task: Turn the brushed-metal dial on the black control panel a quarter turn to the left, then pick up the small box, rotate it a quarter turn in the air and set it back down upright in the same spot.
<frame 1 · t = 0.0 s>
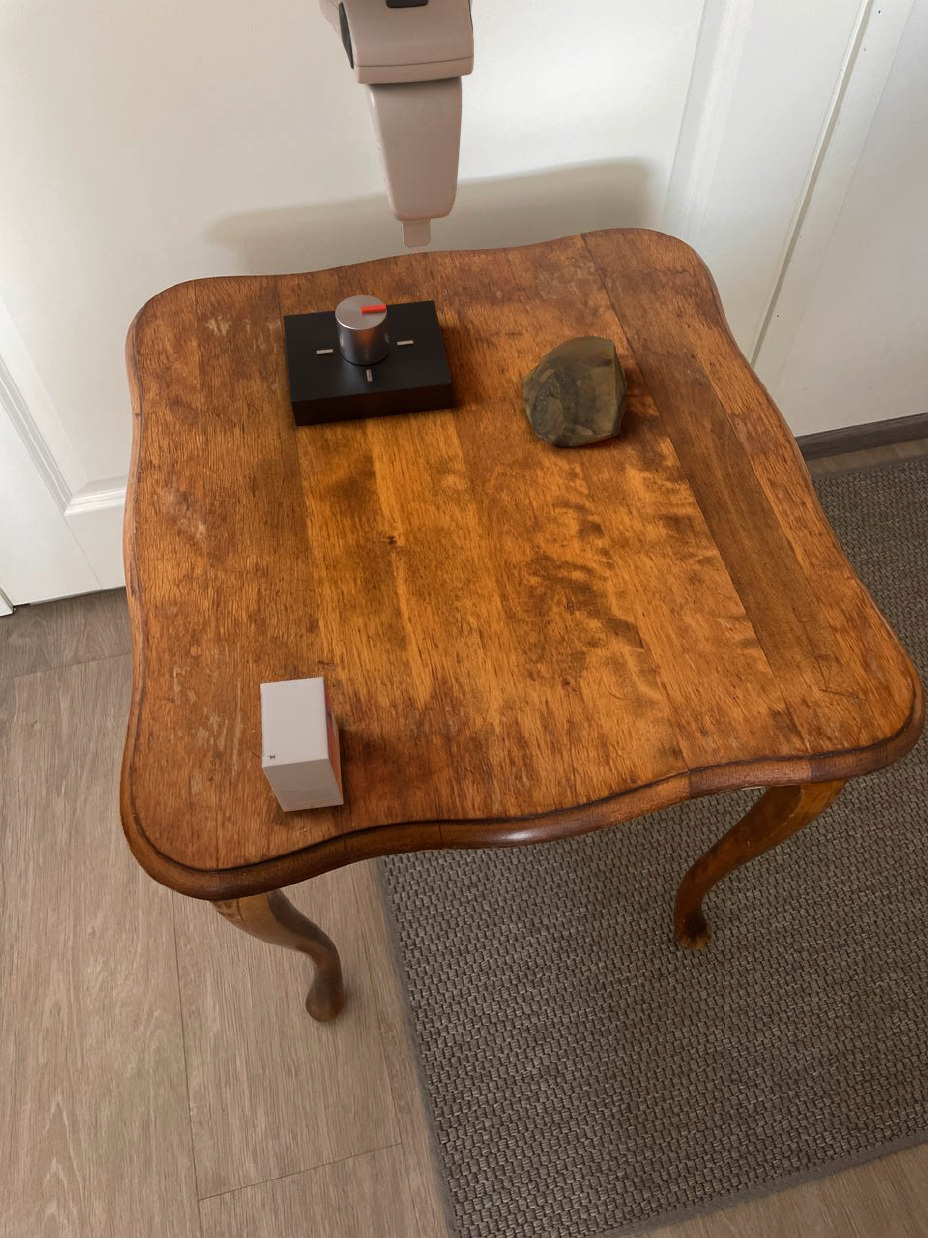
hand: (406, 197, 63), 21 cm above the table, tool pointing down, fingers open, 8 cm apart
dial: (363, 328, 79), point 5 cm above the table, hinge at 0.0°
small box: (312, 769, 63), on the table
panel: (368, 373, 83), on the table
decorative stone: (575, 407, 82), on the table
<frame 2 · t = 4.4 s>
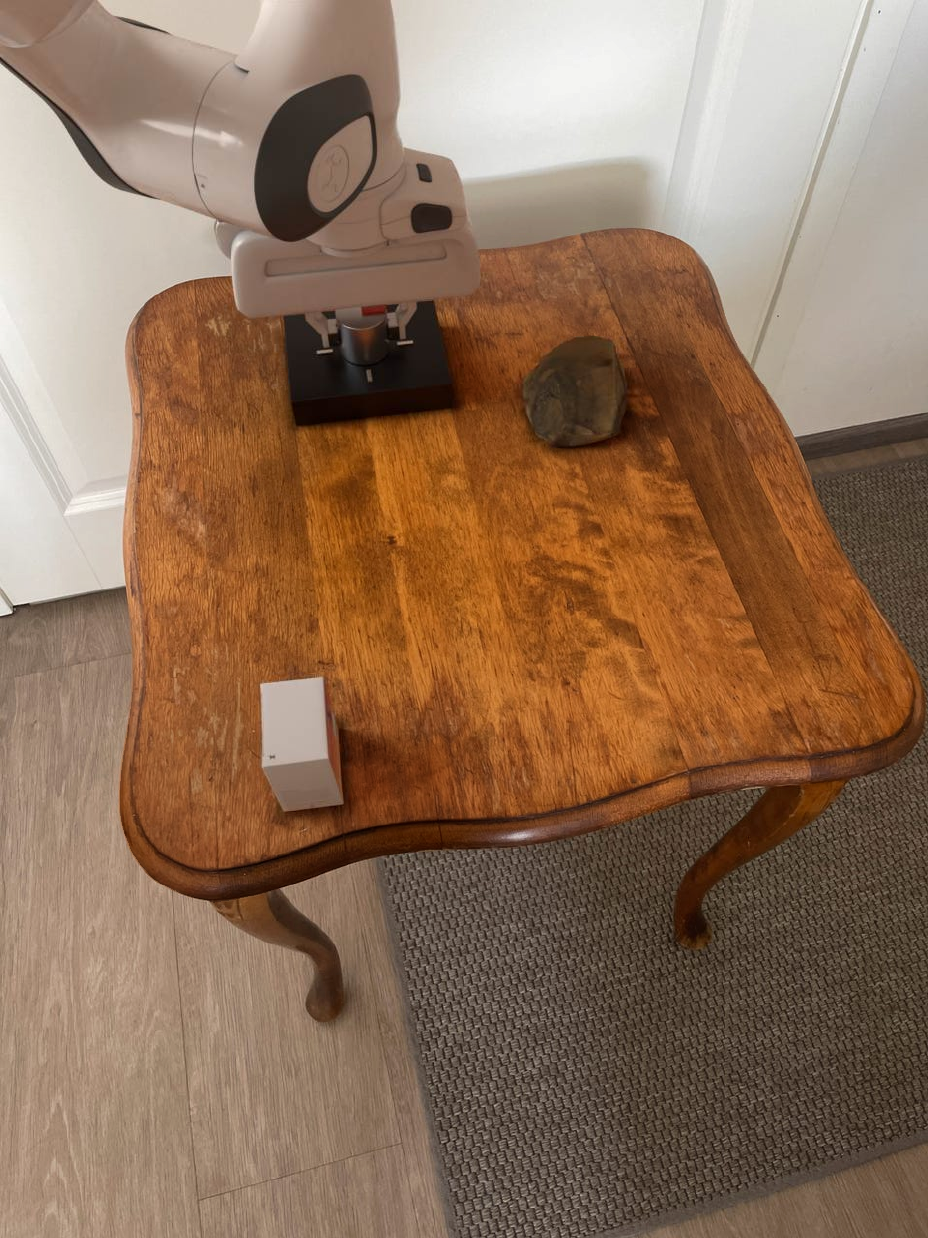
hand: (364, 338, 80), 4 cm above the table, tool pointing down, fingers closed on dial, 4 cm apart
dial: (363, 328, 79), point 5 cm above the table, hinge at 0.1°, touching gripper
everything else where it was.
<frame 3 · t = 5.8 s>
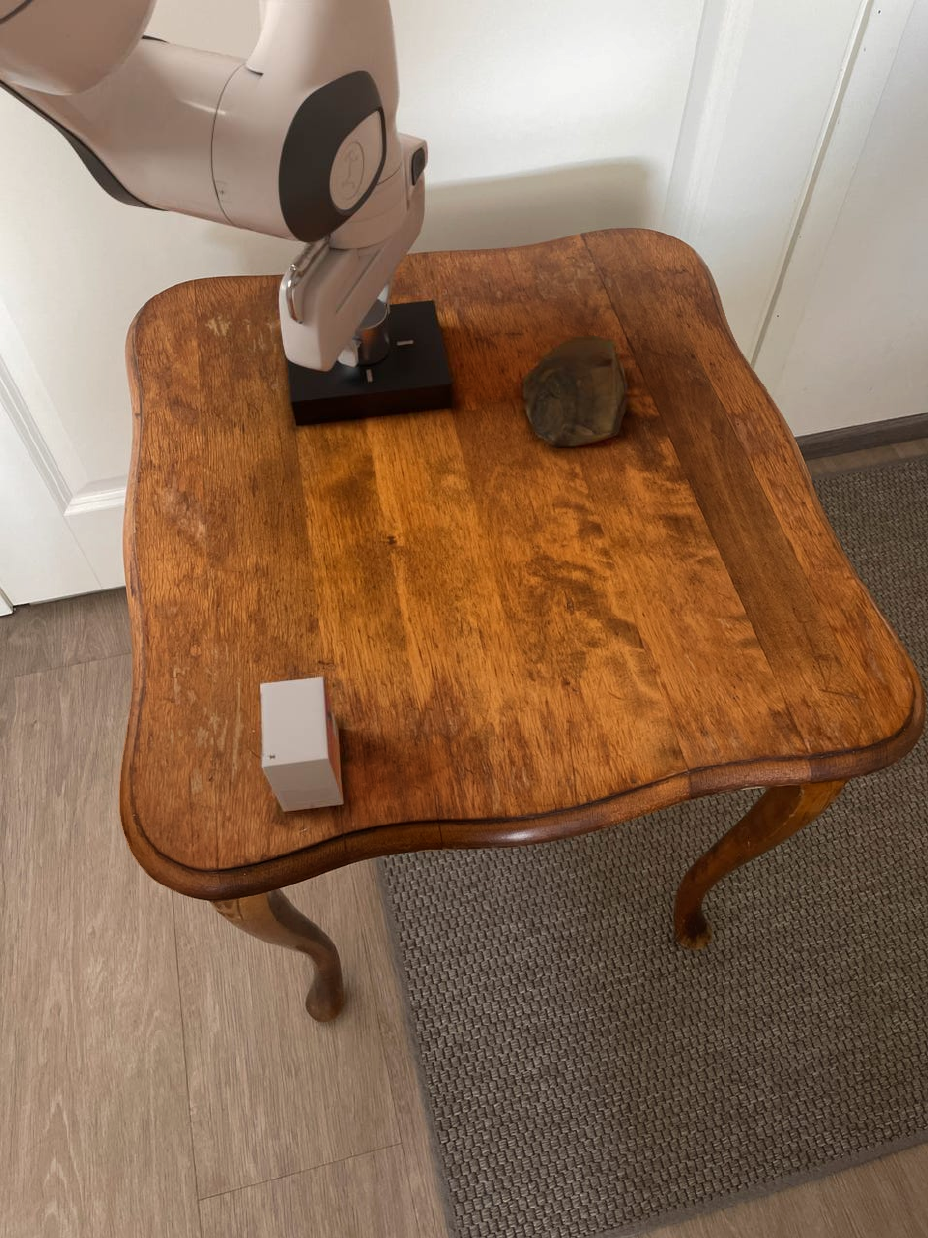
hand: (364, 338, 80), 4 cm above the table, tool pointing down, fingers closed on dial, 4 cm apart
dial: (363, 328, 79), point 5 cm above the table, hinge at 60.4°, touching gripper
everything else where it was.
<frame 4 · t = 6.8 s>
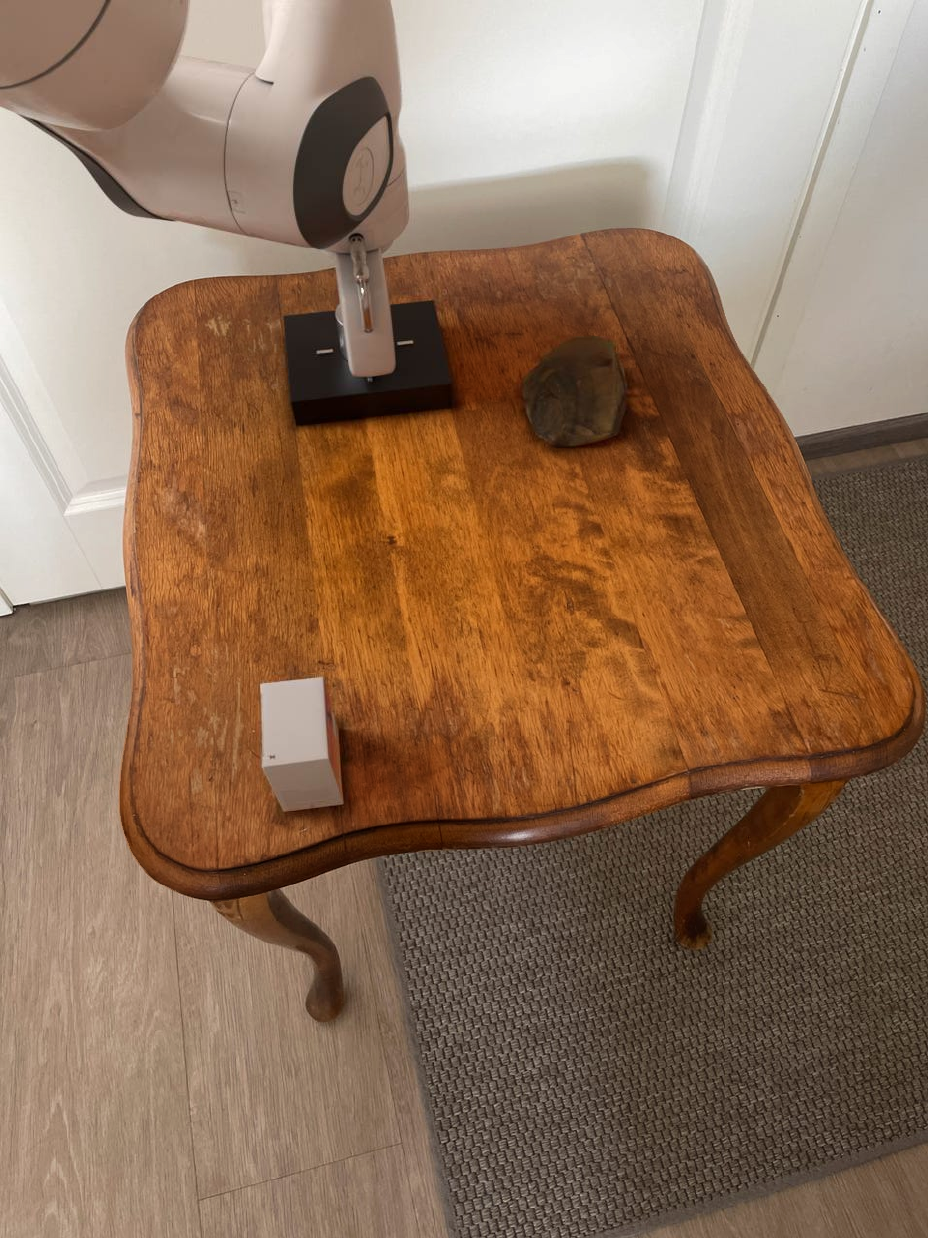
hand: (367, 341, 80), 4 cm above the table, tool pointing down, fingers closed on dial, 4 cm apart
dial: (363, 328, 79), point 5 cm above the table, hinge at 93.6°, touching gripper
everything else where it was.
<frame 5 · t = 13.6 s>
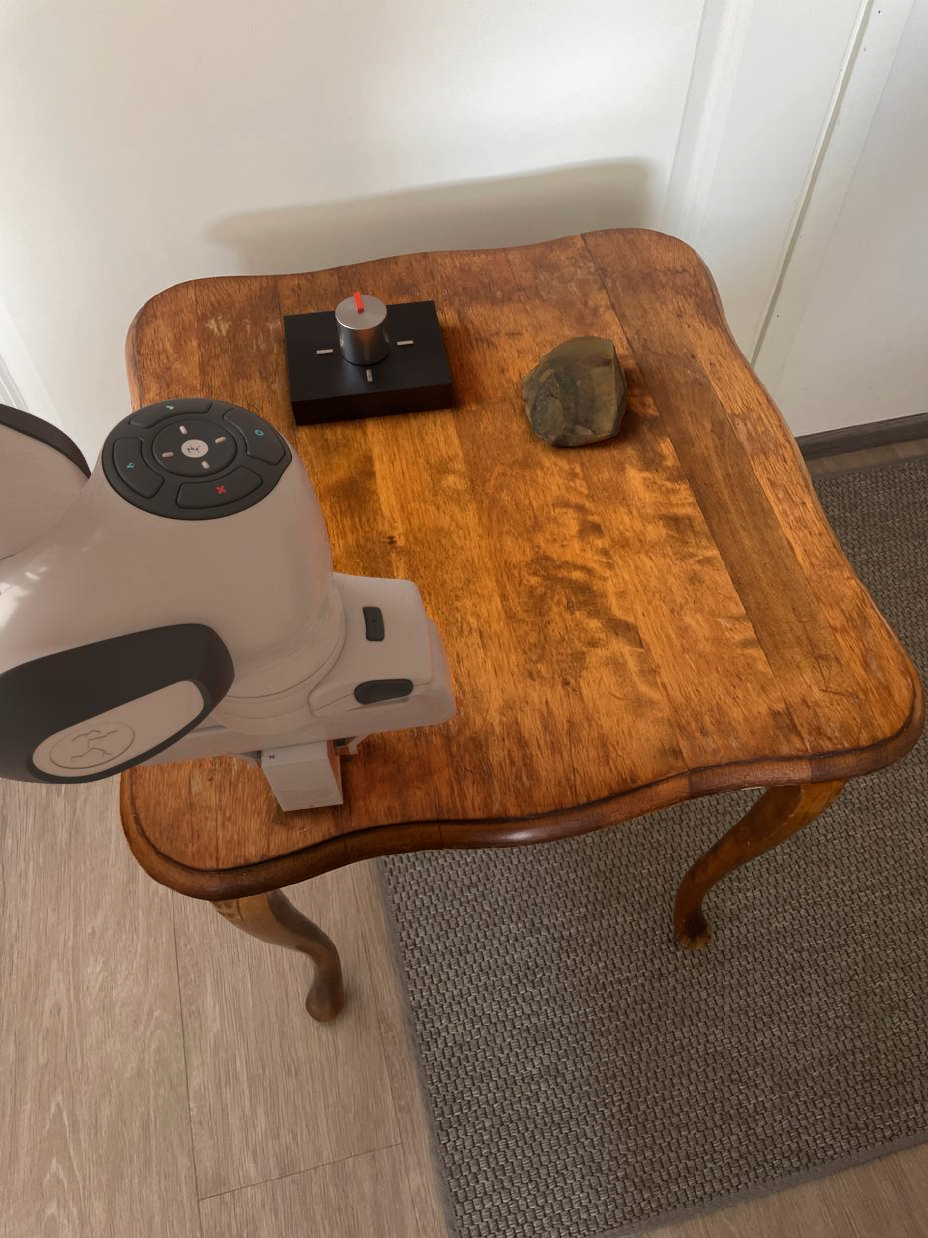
hand: (305, 751, 60), 3 cm above the table, tool pointing down, fingers closed on small box, 4 cm apart
dial: (363, 328, 79), point 5 cm above the table, hinge at 93.4°
small box: (311, 769, 63), on the table, touching gripper
everything else where it was.
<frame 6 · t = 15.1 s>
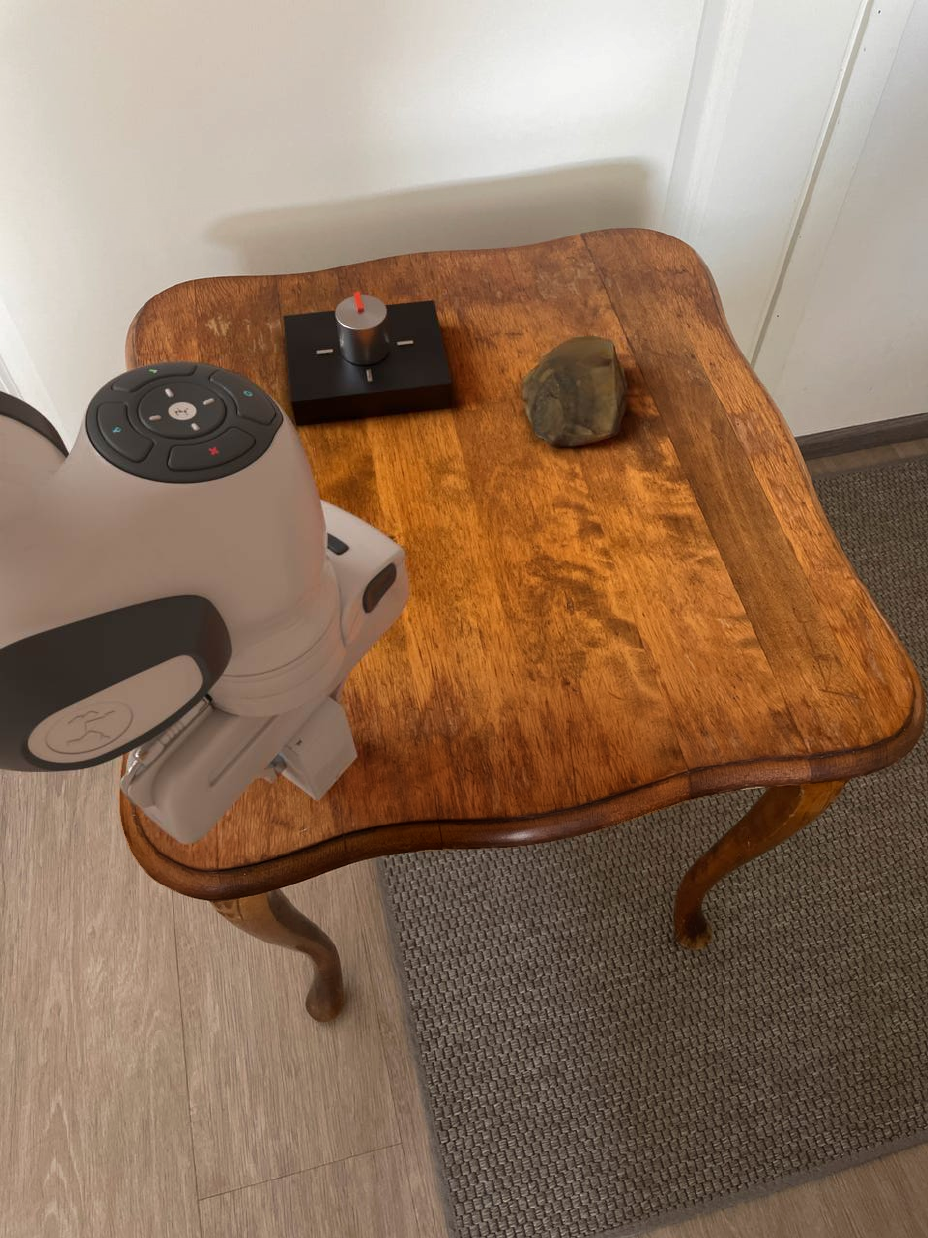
hand: (299, 736, 59), 5 cm above the table, tool pointing down, fingers closed on small box, 4 cm apart
small box: (305, 756, 62), point 2 cm above the table, touching gripper
everything else where it was.
when the fingers open (3 cm above the table, at t = 17.0 s): small box stays where it is, on the table.
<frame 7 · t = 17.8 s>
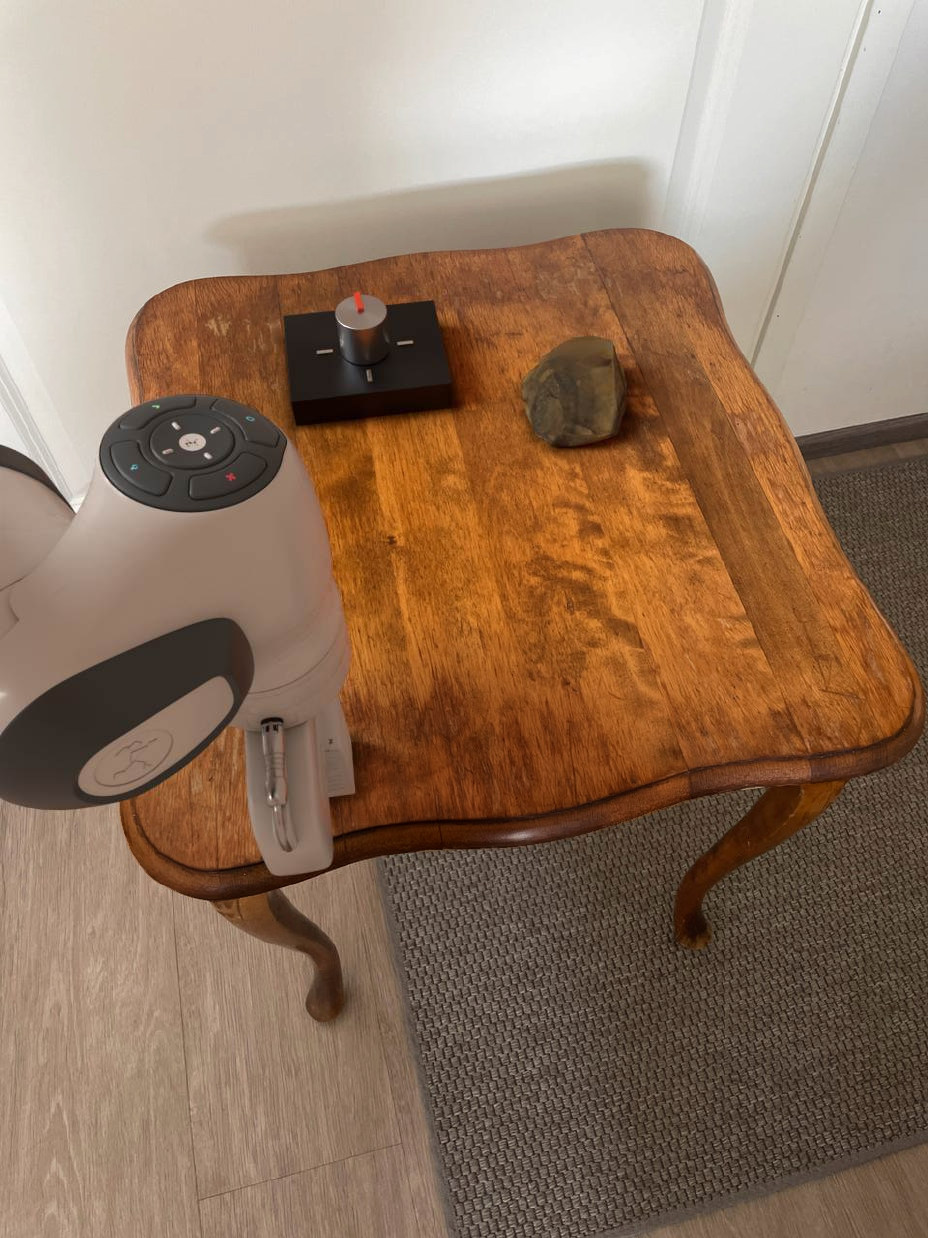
hand: (303, 747, 60), 3 cm above the table, tool pointing down, fingers open, 8 cm apart
small box: (311, 774, 63), on the table
everything else where it was.
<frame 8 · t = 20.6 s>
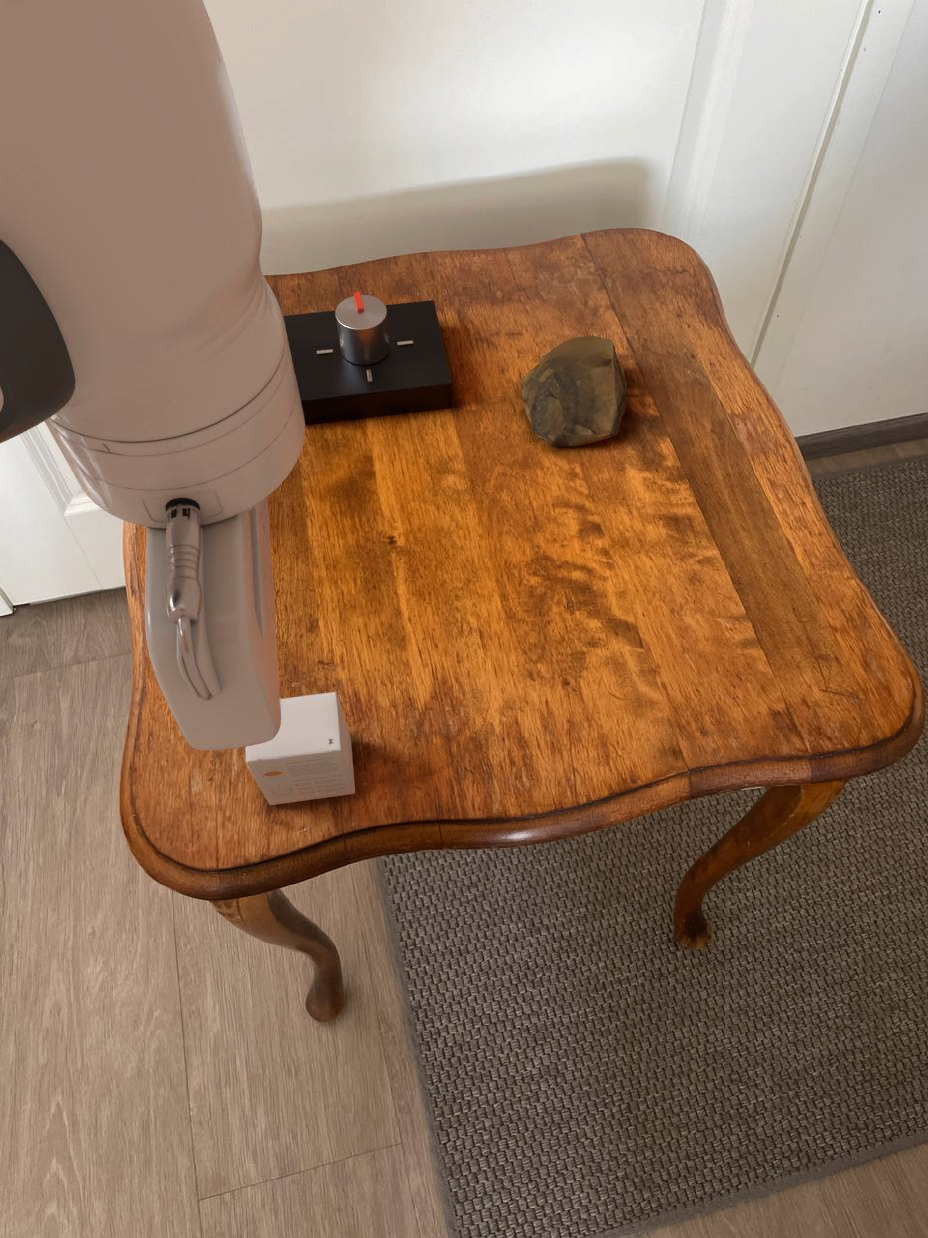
hand: (252, 607, 45), 21 cm above the table, tool pointing down, fingers open, 8 cm apart
nothing on the table moved.
at the end: dial at +93° (first picture: +0°); small box tilted 0°; small box moved 0.4 cm from its start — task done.
